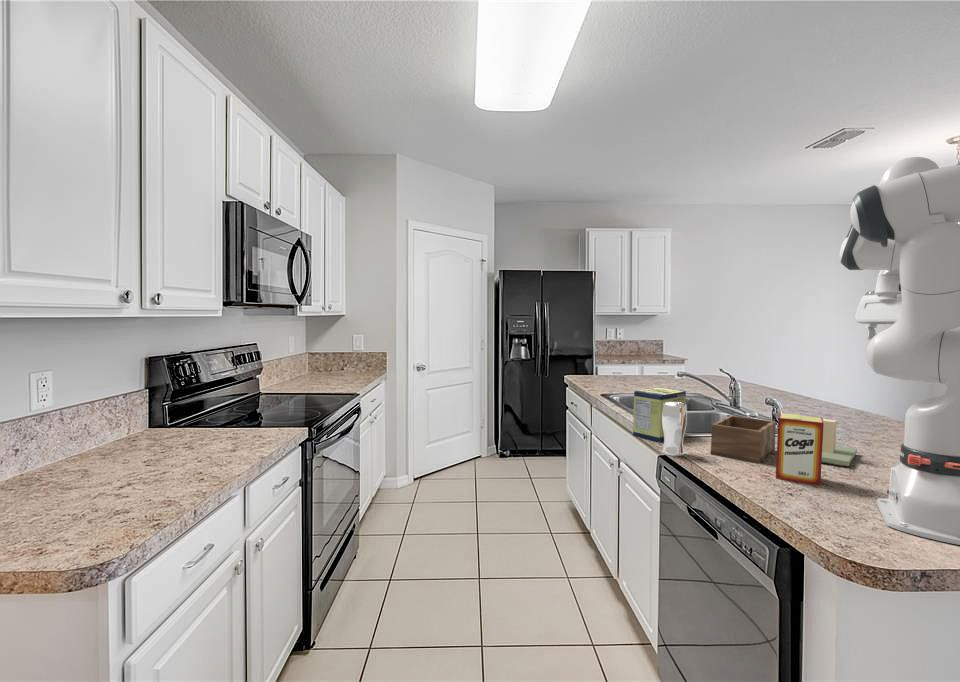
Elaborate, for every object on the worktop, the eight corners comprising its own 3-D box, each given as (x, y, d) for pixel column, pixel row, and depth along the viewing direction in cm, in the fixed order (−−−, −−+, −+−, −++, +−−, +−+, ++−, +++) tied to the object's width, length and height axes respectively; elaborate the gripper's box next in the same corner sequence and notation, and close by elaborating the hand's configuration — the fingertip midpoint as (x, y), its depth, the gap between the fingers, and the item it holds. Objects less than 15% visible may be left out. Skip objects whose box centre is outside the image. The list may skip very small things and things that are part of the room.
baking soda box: (819, 478, 129) (822, 416, 128) (820, 485, 124) (823, 421, 123) (776, 471, 134) (779, 412, 133) (775, 478, 129) (778, 416, 128)
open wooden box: (759, 463, 141) (760, 431, 140) (710, 454, 150) (711, 424, 149) (774, 450, 154) (776, 421, 154) (729, 442, 163) (730, 415, 162)
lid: (848, 469, 137) (850, 429, 136) (793, 459, 146) (795, 421, 145) (856, 455, 150) (858, 418, 150) (805, 447, 159) (807, 412, 158)
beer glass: (670, 457, 146) (672, 406, 145) (655, 451, 153) (657, 402, 152) (690, 455, 148) (692, 405, 147) (675, 449, 155) (677, 401, 154)
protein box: (685, 435, 172) (686, 390, 171) (659, 442, 163) (661, 395, 162) (657, 429, 181) (659, 386, 180) (632, 436, 171) (633, 390, 170)
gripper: (853, 290, 145) (845, 337, 145) (920, 283, 124) (910, 339, 124) (874, 293, 145) (865, 341, 145) (944, 288, 125) (934, 343, 125)
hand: (886, 340), depth 135 cm, fingers open, 8 cm apart
